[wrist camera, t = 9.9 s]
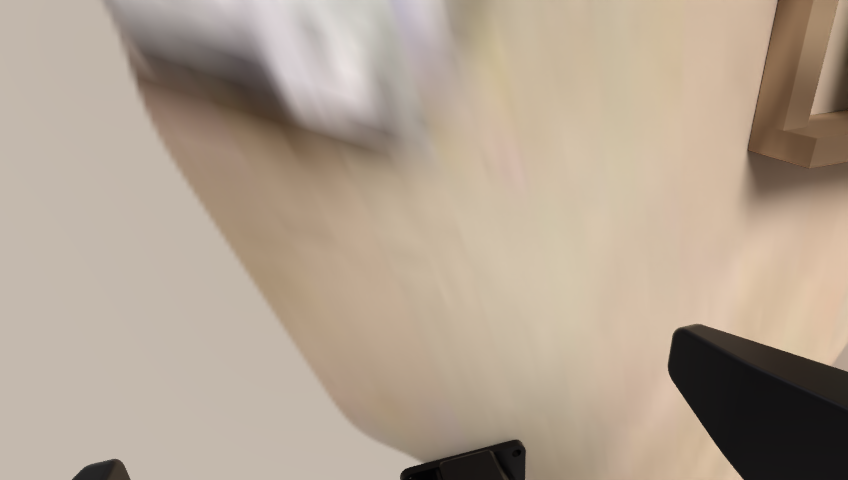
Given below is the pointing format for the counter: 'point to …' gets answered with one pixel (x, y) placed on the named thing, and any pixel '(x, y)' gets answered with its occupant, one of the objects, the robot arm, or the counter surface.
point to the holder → (798, 90)
